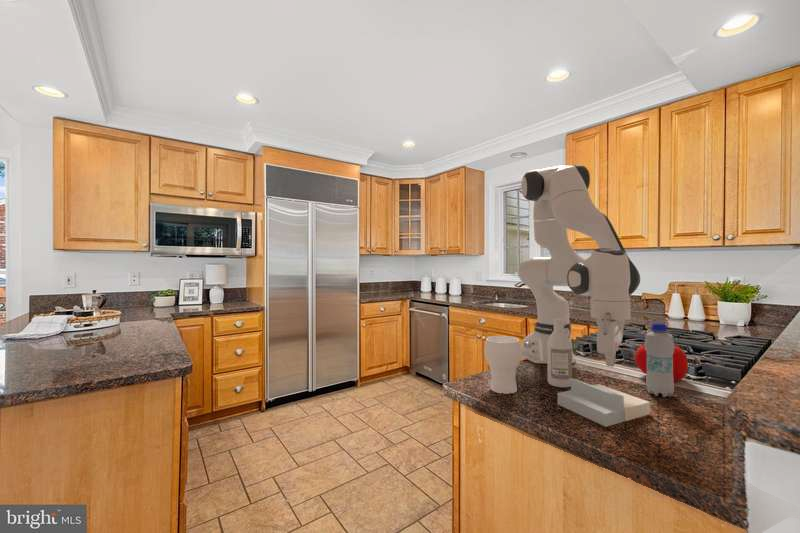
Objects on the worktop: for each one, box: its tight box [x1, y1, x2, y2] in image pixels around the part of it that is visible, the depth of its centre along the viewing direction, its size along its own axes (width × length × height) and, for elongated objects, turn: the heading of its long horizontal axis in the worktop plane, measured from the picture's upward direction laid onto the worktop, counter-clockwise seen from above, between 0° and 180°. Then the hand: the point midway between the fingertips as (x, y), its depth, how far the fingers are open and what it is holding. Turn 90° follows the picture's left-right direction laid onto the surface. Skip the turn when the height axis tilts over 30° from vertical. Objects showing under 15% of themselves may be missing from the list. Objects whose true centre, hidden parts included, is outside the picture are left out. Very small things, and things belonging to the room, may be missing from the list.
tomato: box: [634, 343, 689, 382], centre depth 111 cm, size 12×14×11 cm
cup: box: [484, 335, 522, 395], centre depth 106 cm, size 11×11×15 cm
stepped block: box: [556, 378, 625, 428], centre depth 89 cm, size 14×6×6 cm, turn 22°
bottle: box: [644, 322, 675, 398], centre depth 99 cm, size 7×7×20 cm
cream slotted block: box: [593, 383, 651, 422], centre depth 91 cm, size 14×9×3 cm, turn 22°
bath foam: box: [546, 318, 573, 388], centre depth 109 cm, size 7×7×20 cm
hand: (610, 365), depth 91 cm, fingers closed
